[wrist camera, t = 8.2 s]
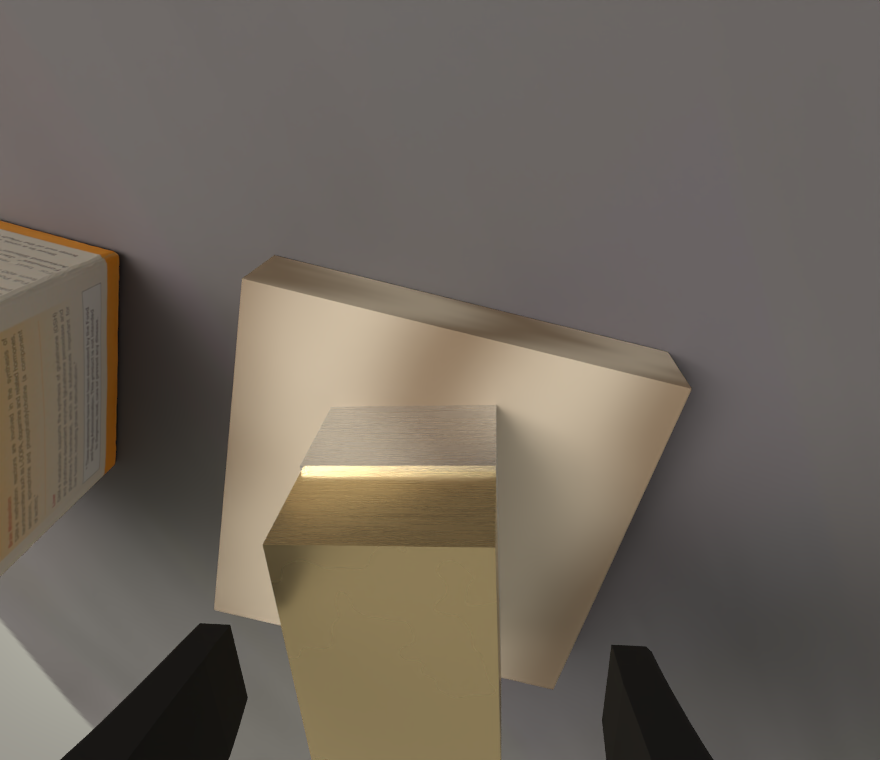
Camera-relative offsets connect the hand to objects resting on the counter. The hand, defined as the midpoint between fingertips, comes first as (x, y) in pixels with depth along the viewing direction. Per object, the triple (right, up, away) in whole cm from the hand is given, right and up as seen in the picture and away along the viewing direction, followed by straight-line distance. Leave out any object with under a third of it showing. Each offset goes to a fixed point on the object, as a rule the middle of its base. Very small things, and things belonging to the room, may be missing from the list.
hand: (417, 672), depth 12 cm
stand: (0, +3, +9) cm, 9 cm away
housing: (0, +1, +7) cm, 7 cm away
